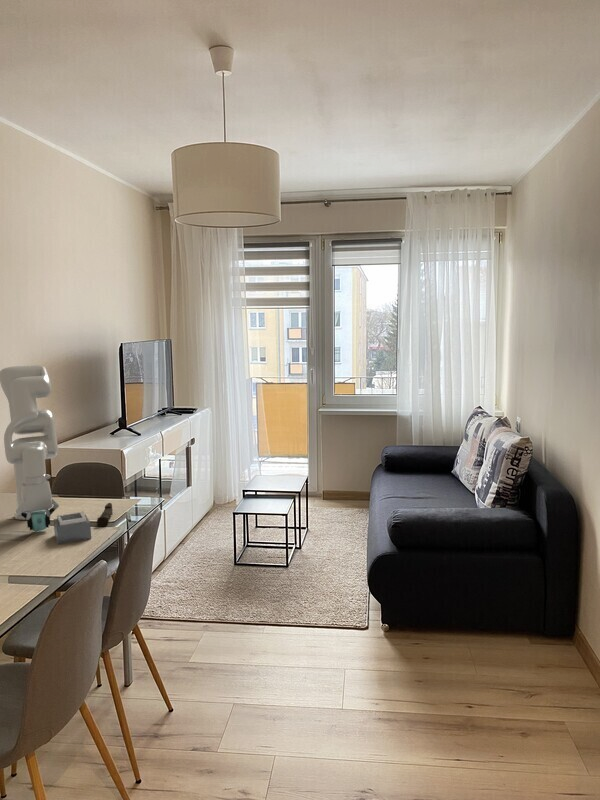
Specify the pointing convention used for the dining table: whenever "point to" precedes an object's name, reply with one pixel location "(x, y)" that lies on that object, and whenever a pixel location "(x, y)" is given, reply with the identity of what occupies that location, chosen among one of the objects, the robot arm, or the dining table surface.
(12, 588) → the dining table surface
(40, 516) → the teal toy block
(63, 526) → the grey plastic box
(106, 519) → the hand tool
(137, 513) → the dining table surface
